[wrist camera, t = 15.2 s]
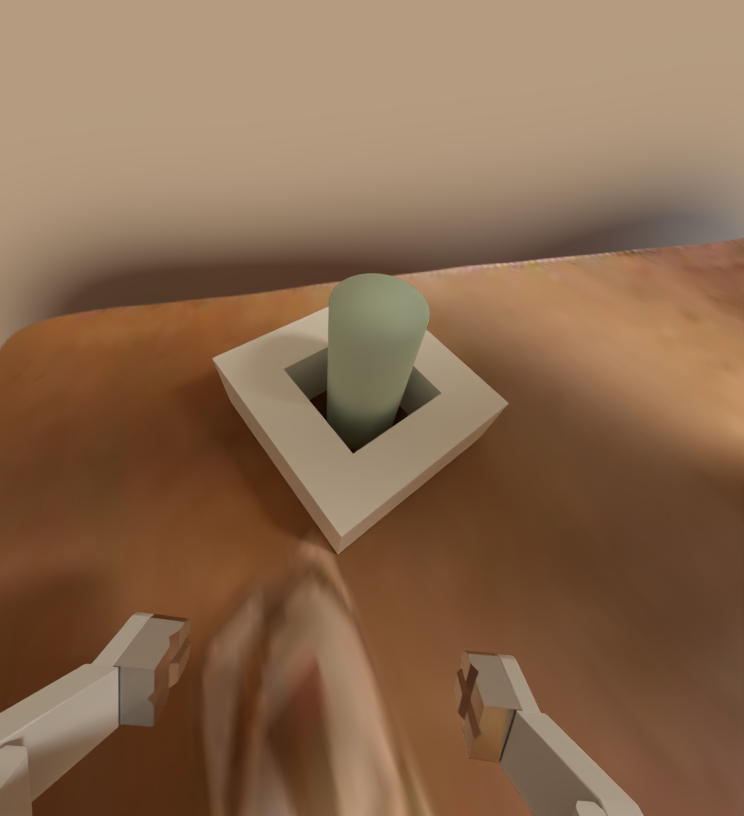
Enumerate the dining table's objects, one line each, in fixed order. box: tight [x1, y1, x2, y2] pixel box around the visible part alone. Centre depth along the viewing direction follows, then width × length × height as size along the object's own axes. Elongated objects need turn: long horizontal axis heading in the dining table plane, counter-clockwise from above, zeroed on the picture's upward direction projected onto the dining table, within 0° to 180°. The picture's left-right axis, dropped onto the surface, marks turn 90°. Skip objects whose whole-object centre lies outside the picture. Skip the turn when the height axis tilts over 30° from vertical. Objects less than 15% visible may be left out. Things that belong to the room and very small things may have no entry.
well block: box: [212, 307, 509, 554], centre depth 21 cm, size 12×12×4 cm
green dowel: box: [327, 273, 430, 450], centre depth 19 cm, size 4×4×10 cm
